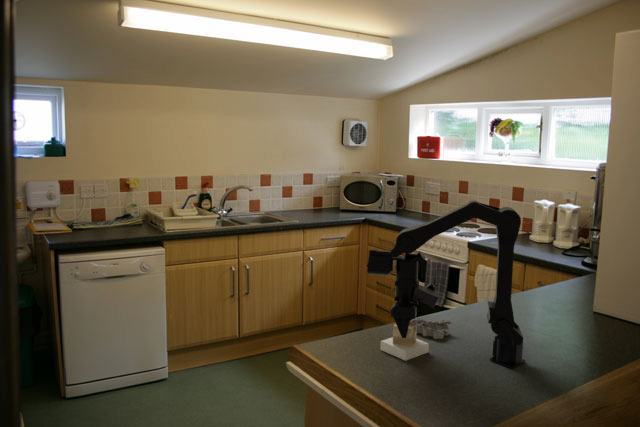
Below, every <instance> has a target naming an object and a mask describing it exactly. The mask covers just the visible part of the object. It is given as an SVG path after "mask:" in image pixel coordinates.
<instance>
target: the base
mask: <svg viewBox="0 0 640 427" xmlns="http://www.w3.org/2000/svg"><path fill="white" fill-rule="evenodd" d="M380 351H382V352H384V353H387V354H389V355H391V356H393V357H396V358H397V359H398V358H399V359H401V360H403V361H409V360H411V359H414V358H417V357H419V356H423V355H424V354H427V353H429V343H428V342H426V341H423V340H421V339H419V338H416V342H415V343H414V344H413V345H412V346H411V347H408V346H402V345H397V344H393V336H392V337H389V338H385V339H383V340H380Z"/></svg>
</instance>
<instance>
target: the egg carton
mask: <svg viewBox="0 0 640 427" xmlns="http://www.w3.org/2000/svg"><path fill="white" fill-rule="evenodd" d="M410 322H414V323H417V334H422V336H423V337H432V338H433V339H434V340H438V339H440V340H441V339H444V336H447V337H448V336H449V335H450V334H449V333H450V332H449V331H450V327H449V326H450V325H451V321H449V320H441V321H439V320H434V321H433V320H428V319H426V320H425V319H423V318H420V317H419V318H417V317H416V318H415V319H412V320H411V321H410Z"/></svg>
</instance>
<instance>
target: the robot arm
mask: <svg viewBox="0 0 640 427" xmlns="http://www.w3.org/2000/svg"><path fill="white" fill-rule="evenodd" d="M521 218H522V217H521V215H520V214H519V213H518V212H517V211H516V210H515V209H514V208H513V207H509V206H503V207H497V206H494V205H490V204H486V203H483V202H479V201H477V200H470V201H468V202H466V204H464V205H461V206H459V207H458V208H456V209H453V210H451V211H450V212H447V213H445V214H443V215H441V216H439V217H437V218H435V219H432V220H430V221H429V222H426V223H422V224H417V225H414V226H409V227H406V228H403V229H402V230H401V231H400V232H399V234H398V235H397V237H396V239H395V244H394V245H392V246H391V248H390V250H387V249H386V250H385V249H377V248H376V249H375V248H370V249H369V250H368V251H369V253H368V259H367V260H368V262H367V266H366V269H367V270H366V271H367V275H373V276H375V275H376V276H388V277H389V276H390V274H391V273H394V271H395V280H394V286H395V289H394V290H395V295H394V298H393V299H394V303H393V304H392V305H391V308H390V317H391V318H393V320H394V322H395V324H396V325H397V327H398V329H399V332H400V334H401V337H402V338H406V336H407V331H408V327H409V323H410V321H412V320H415V319H417V307H418V306H419V302H420V303H422V304H424V305H427V306H429V307H430V308H435V307H436V305H437V303H438V301H439V298H440V292H439V291H438V290H436V285H435V284H432V283H428V284H427V285H426V286H425V285H421V284H420V280H419V278H418V277H419V262H420V263H425V262H426V259H427V258H426V256H425V255H423V253H422V252H421V250H418V249H419V248H421V247H423V246H424V245H425V244H426V243H427V242H428V241H430V240H432V238H435V237H436V236H439V235H441V234H444V233H445V232H447V231H449V230H452V229H454V228H455V227H458V226H460V225H461V224H462V225H463V223H466V222H468V221H470V220H472V219H477V220H480V221H483V222H485V223H488V224H490V225H492V226H495V233H496V240H497V256H496V257H497V258H496V271H495V272H496V274H495V275H496V277H495V290H494V291H495V293H494V298H493V300H492V301H489V300H488V301H487V308H488V310H487V313H486V318H487V319H486V320H487V323H488V324H490V328H491V330H492V332H493V333H494V334H495V336H494V340H493V341H492V352H491V353H492V357H490V358H489V360H490V361H491V362H494V363H495V364H500V365H502V366H505V367H506V368H507V367H508V368H509V369H513V368H516V367H517V366H520V365H522V364H524V363H525V362H526V360H525V359H523V348H524V336H523V334H522V331H521V328H520V325H518V323H516V322H515V317H514V310H513V309H514V308H513V304H512V292H513V291H512V288H513V274H514V273H513V272H514V257H515V256H514V255H515V254H514V253H515V245H516V242H517V238H518V236H519V233H520V228H521V224H522V219H521ZM417 250H418V252H416V253H414V252H415V251H417ZM403 254H404V255H403ZM395 261H396V263H395ZM395 266H396V267H395Z"/></svg>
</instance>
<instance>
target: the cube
mask: <svg viewBox="0 0 640 427" xmlns="http://www.w3.org/2000/svg"><path fill="white" fill-rule="evenodd" d="M392 327H393V328H392V329H393V330H392V337H393V344H397V345H402V346H408V347H411V346H412V345H413V344H414V343H415V342H416V339H417V335H418V333H417V323H414V322H410V323H409V327H408V331H407V336H406V338H402V337H401V334H400V332H399V329H398V327H397V325H396V323H395V324H394V325H392Z"/></svg>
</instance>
